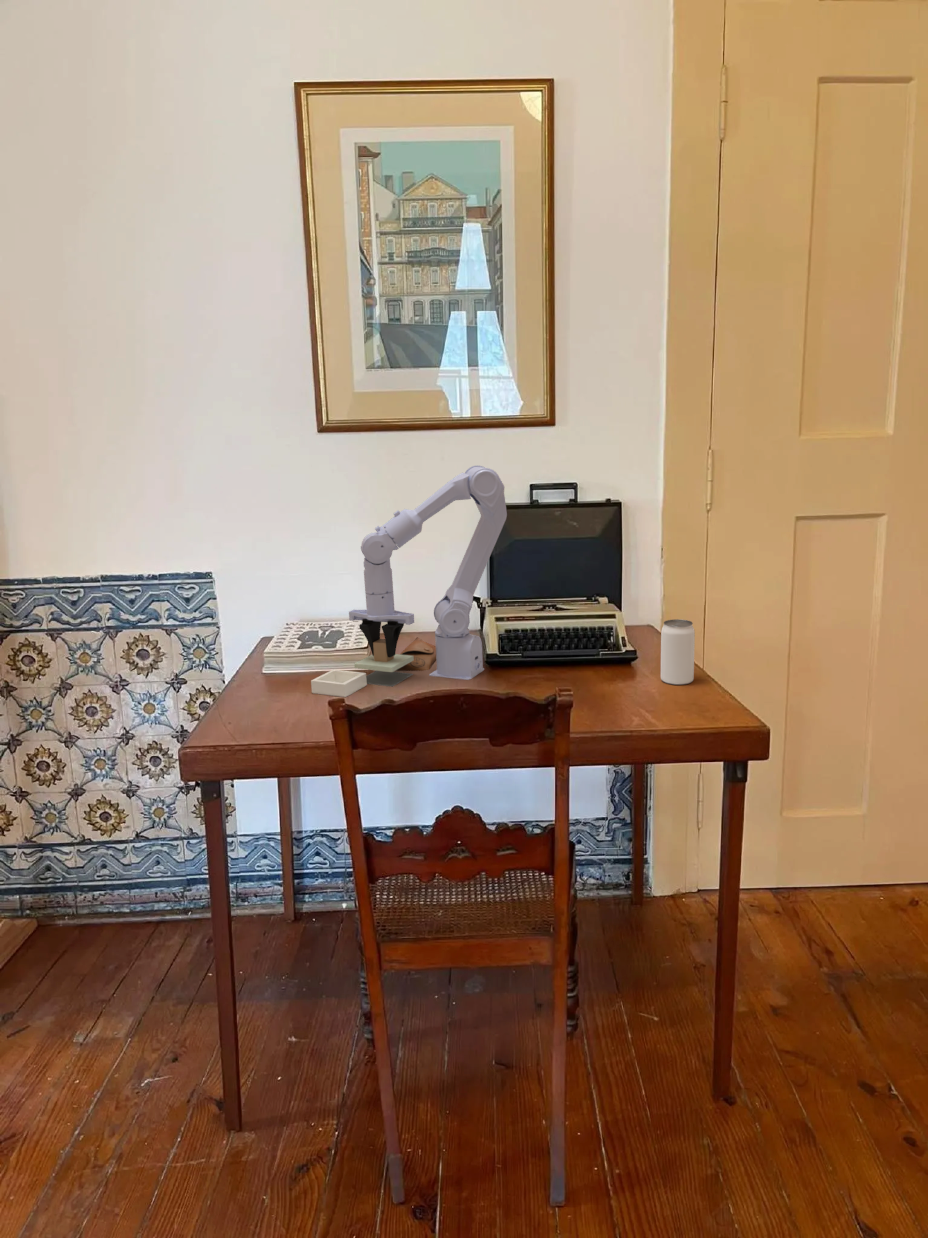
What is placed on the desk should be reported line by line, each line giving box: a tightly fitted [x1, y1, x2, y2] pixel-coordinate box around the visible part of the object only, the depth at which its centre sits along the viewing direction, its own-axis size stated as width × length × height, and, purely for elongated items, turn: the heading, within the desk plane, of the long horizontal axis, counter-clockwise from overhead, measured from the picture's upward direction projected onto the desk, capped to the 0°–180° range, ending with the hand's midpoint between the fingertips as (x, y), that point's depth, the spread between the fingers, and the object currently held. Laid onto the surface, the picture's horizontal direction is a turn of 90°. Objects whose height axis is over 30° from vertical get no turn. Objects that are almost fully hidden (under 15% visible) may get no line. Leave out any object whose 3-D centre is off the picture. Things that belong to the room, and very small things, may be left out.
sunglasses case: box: [394, 637, 436, 672], centre depth 196 cm, size 18×7×7 cm
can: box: [660, 618, 696, 686], centre depth 174 cm, size 6×6×12 cm
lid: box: [353, 638, 414, 672], centre depth 182 cm, size 9×9×5 cm
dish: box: [310, 669, 368, 698], centre depth 177 cm, size 8×8×3 cm
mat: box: [366, 670, 414, 688], centre depth 183 cm, size 9×9×1 cm
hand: (383, 655), depth 182 cm, fingers closed on lid, 3 cm apart
